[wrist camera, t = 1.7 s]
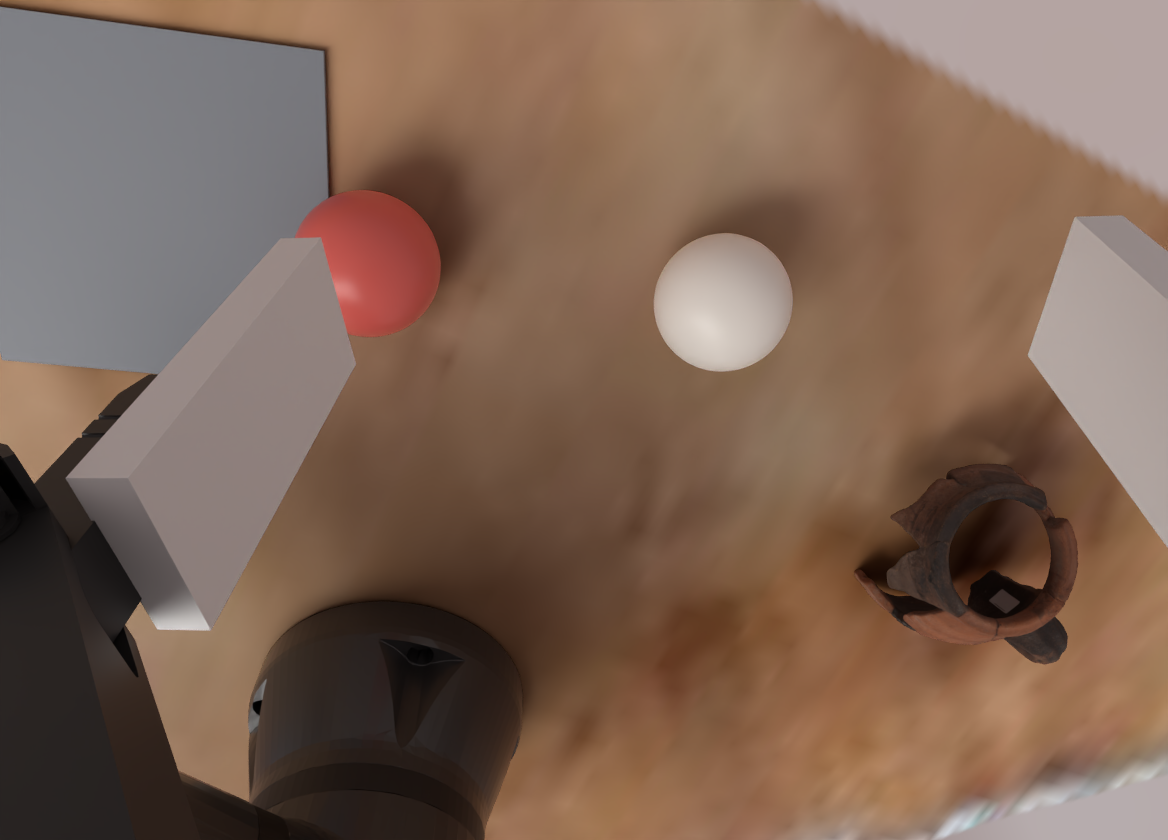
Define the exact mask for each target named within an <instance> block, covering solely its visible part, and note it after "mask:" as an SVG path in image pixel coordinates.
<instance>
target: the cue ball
mask: <svg viewBox="0 0 1168 840" xmlns="http://www.w3.org/2000/svg"><path fill="white" fill-rule="evenodd" d="M792 306H793V294H792V288H791V283H790V280H789V277H788V274H787V272H786V270H785V268H784V267H783V265H782V263H781V262H780V260H779V259H778V258H777V256H776V255H775V254H774V253H773V252H772V251H771V250H769V249H768V248H767V247H766V246H764V245H763V244H761V243H760V242H758V241H756V240H754V239H752V238H749V237H746V236H743V235H739V234H733V233H719V234H712V235H707V236H704V237H701V238H698V239H696V240H694V241H692V242H690V243H688V244H687V245H685V246H684V247H682V248H681V249H680V250H679V251H678V252H676V253H675V254H674V256H673V257H672V258H671V259H670V260H669V261H668V263H667V264H666V265H665V267H664V269H663V270H662V272H661V274H660V276H659V279H658V281H657V285H656V289H655V295H654V313H655V319H656V323H657V326H658V329H659V331H660V333H661V336H662V337H663V339H664V341H665V342H666V344H667V345H668V346H669V348H670V349H671V350H672V351H673V352H674V353H675V354H676V355H677V356H679V357H680V358H681V359H682V360H684V361H686V362H687V363H689V364H691V365H693V366H696V367H698V368H701V369H705V370H710V371H723V372H724V371H734V370H739V369H742V368H745V367H748V366H750V365H752V364H754V363H756V362H758V361H759V360H761V359H762V358H764V357H765V356H766V355H768V354H769V353H770V352H771V351H772V350H773V349H774V348H775V347H776V345H777V344H778V343H779V341H780V340H781V338H782V337H783V335H784V333H785V331H786V329H787V327H788V325H789V322H790V318H791V314H792Z"/></svg>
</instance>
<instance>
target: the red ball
mask: <svg viewBox="0 0 1168 840" xmlns="http://www.w3.org/2000/svg"><path fill="white" fill-rule="evenodd" d="M315 237H321V240H322V243H323V247H324V251H325V254H326V258H327V261H328V265H329V269H330V272H331V276H332V279H333V283H334V287H335V290H336V294H337V297H338V301H339V305H340V308H341V312H342V315H343V319H344V323H345V326H346V330H347V334H351V335H355V336H361V337H380V336H385V335H389V334H392V333H395V332H398V331H400V330H402V329H404V328H406V327H408V326H410V325H411V324H412V323H414V322H415V321H416V320H417V319H418V318H419V317H421V316H422V315H423V314H424V312H425V311H426V310H427V309H428V307H429V306H430V304H431V302H432V301H433V299H434V297H435V294H436V292H437V289H438V285H439V281H440V273H441V260H440V254H439V250H438V246H437V243H436V240H435V238H434V236H433V233H432V231H431V230H430V228H429V226H428V225H427V223H426V222H425V221H424V220H423V218H422V217H421V216H420V215H419V214H418V213H417V212H416V211H415V210H414V209H412V208H411V207H410V206H409V205H407V204H406V203H404V202H403V201H401V200H399V199H397V198H395V197H393V196H391V195H388V194H385V193H381V192H377V191H371V190H354V191H348V192H343V193H340V194H337V195H334V196H331V197H330V198H328V199H326V200H324V201H323V202H321V203H320V204H319V205H317V206H316V207H315V208H313V209H312V210H311V211H310V213H309V214H308V215H307V216H306V217H305V219H304V220H303V222H302V223H301V225H300V227H299V229H298V231H297V233H296V235H295V238H315Z"/></svg>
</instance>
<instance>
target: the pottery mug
mask: <svg viewBox="0 0 1168 840" xmlns="http://www.w3.org/2000/svg"><path fill="white" fill-rule="evenodd" d="M998 499H1014V500H1017V501H1020V502H1023V503H1025V504H1026V505H1028V506H1030V507H1032V508H1034V509H1035V510H1036V512H1037V513H1038V514H1039V515H1040V517H1041V519H1042V521H1043V524H1044V526H1045V528H1046V530H1047V533H1048V536H1049V542H1050V548H1051V562H1050V569H1049V574H1048V577H1047V580H1046V583H1045V585H1044V588H1043V589H1035V588H1033V587H1031V586H1027V585H1021V584H1019V583H1017V582H1015V581H1013V580H1012V579H1010V578H1009V577H1006V576H1002V575H1001V574H1000V573H999V572H997V571H996V570H991V571H989V572H988V573H987V574H986V575H985V576H983V577H982V578H981V579H980V580H978V581H976V582H974V583H973V584H972V585H971V587H970V590H971V592H970V596H969V598H968V606H967V605H965V604H964V603H963V601H962V600H961V598H960V597H959V596H958V594H957V592H956V590H955V588H954V586H953V583H952V579H951V575H950V570H949V553H950V545H951V542H952V540H953V537H954V535H955V533H956V532H957V530H958V528H959V526H960V524H961V523H962V522H963V520H964V519H965V518H966V517H967V516H968V514H969V513H970V512H971V511H973V510H974V509H976V508H977V507H979V506H980V505H982V504H985V503H987V502H991V501H994V500H998ZM890 518H891V519H892V520H894V521H896V522H897V523H898V524H899V525H900V526H902V527H903V529H904V530H905V531H906V532H907V533H909V534H910V535H911V536H912V538H913V539H914V540H915V541H916V542H917V543H918V545H919V549H917V550H913V551H909V552H907V553H905V554H904V555H903V556H902V557H901V558H900V560H899V561H898V562H897V564H896V565H895V566H893V567H892V568H890V569H889V570H888V571H887V583H888V586H889V587H890V588H892V589H896V590H900V591H905V592H906V593H907V594H909V595H910V596H894V595H890V594H888V593H885V592H883V591H882V590H880V589H879V588H878V587H877V585H876V584H875V582H874V581H873V580H871V579H869V578H868V577H867V576H866V574H865V573H864V572H863V571H862V570H860V569H858V570H856V571H854V575H855V577H856V578H857V580H858V581H859V582H860V583H861V585H862V586H863V587H864V588H865V590H866V591H867V593H868V594H869V595H870V596H871V597H872V598H873V599H874V600H875V601H876V602H877V603H878V604H879V605H880V606H881V607H882V608H884V609H885V610H887V611H888V612H889V613H891V614H892V615H893V616H894V617H895V618H896V619H897V621H899V622H900V623H902V624H903V625H904V626H906V627H908V628H910V629H912V630H914V631H917V632H918V633H919V634H921V635H924V636H926V637H929V638H933V639H937V640H940V641H945V642H951V643H956V644H968V645H969V644H973V645H976V644H981V643H985V642H989V641H995V640H999V639H1005V640H1006V641H1007V642H1008V643H1009V644H1010V645H1012V646H1013V647H1014V648H1015V649H1016V650H1017V651H1019V652H1020V653H1021V654H1022V655H1024V656H1025V657H1026V658H1027V659H1029V660H1031V661H1032V662H1035V663H1041V664H1049V663H1053V662H1056V661H1057V660H1058V659H1059V658H1060V656H1061V654H1062V653H1063V652H1064V651H1065V649H1066V648H1067V638H1068V637H1067V633H1066V631H1065V629H1064V627H1063V625H1062V624H1061V623H1060V621H1059V620H1058V619H1057V618H1056V617H1055V615H1056V614H1057V613H1058V612H1059V611H1060V610H1061V609H1062V607H1063V606H1064V605H1065V602H1066V600H1067V599H1068V597H1069V595H1070V592H1071V591H1072V587H1073V585H1074V581H1075V578H1076V574H1077V567H1078V561H1077V560H1078V557H1077V555H1078V550H1077V542H1076V538H1075V535H1074V532H1073V529H1072V527H1071V525H1070V523H1069V521H1068V520H1067V519H1064V518H1055V517H1054V515H1053V513H1052V511H1051V509H1050V508H1049V507H1048V506H1047V502H1046V497H1045V494H1044V492H1043V491H1042V490H1040V489H1038V488H1036V487H1034V486H1033V485H1032V484H1031V483H1030V482H1029V481H1028V480H1027V479H1026V478H1025V477H1023V476H1022V475H1021V474H1019V473H1017V472H1015V471H1014V470H1013V469H1012V468H1010V467H1008V466H1006V465H998V464H976V465H969V466H965V467H961V468H956V469H953V470H951V471H949V472H948V473H947V476H946V479H938V480H936V481H935V482H934V483H933V484H932V485H931V486H930V487H929V488H928V489H927V491H926V492H925V493H924V494H923V495H922V496H921V497H920V499H919V500H918V501H917V502H915V503H914V504H913V505H911V506H909V507H908V508H906V509H902V510H900V511H898V512H896V513H895V514H893V515H891V516H890Z"/></svg>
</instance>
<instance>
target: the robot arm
mask: <svg viewBox="0 0 1168 840" xmlns="http://www.w3.org/2000/svg"><path fill="white" fill-rule="evenodd" d="M1028 357H1029V358H1030V359H1031V361H1032V362H1033V363H1034V365H1035V366H1036V368H1037V369H1038V370H1039V372H1040V373H1041V374H1042V376H1043V377H1044V379H1045V380H1046V381H1047V383H1048V384H1049V385H1050V387H1051V388H1052V390H1053V391H1054V392H1055V394H1056V395H1057V396H1058V398H1059V399H1060V401H1061V402H1062V403H1063V405H1064V406H1065V407H1066V409H1067V410H1068V412H1069V413H1070V414H1071V416H1072V417H1073V418H1074V420H1075V421H1076V423H1077V424H1078V425H1079V427H1080V428H1081V429H1082V431H1083V432H1084V434H1085V435H1086V436H1087V438H1088V439H1089V440H1090V442H1091V443H1092V445H1093V446H1094V447H1095V449H1096V450H1097V451H1098V453H1099V454H1100V456H1101V457H1102V458H1103V460H1104V461H1105V462H1106V464H1107V465H1108V467H1109V468H1110V469H1111V471H1112V472H1113V473H1114V475H1115V476H1116V478H1117V479H1118V480H1119V482H1120V483H1121V484H1122V486H1123V487H1124V489H1125V490H1126V491H1127V493H1128V494H1129V495H1130V497H1131V498H1132V499H1133V501H1134V502H1135V504H1136V505H1137V506H1138V508H1139V509H1140V510H1141V512H1142V513H1143V515H1144V516H1145V517H1146V519H1147V520H1148V521H1149V523H1150V524H1151V526H1152V527H1153V528H1154V530H1155V531H1156V532H1157V534H1158V535H1159V537H1160V538H1161V539H1162V541H1163V542H1164V543H1165V545H1166V546H1167V548H1168V252H1167V251H1166V250H1165V249H1164V248H1162V247H1161V246H1160V245H1159V244H1157V243H1156V242H1155V241H1154V240H1152V239H1151V238H1150V237H1149V236H1148V235H1146V234H1145V233H1144V232H1143V231H1141V230H1140V229H1139V228H1138V227H1136V226H1135V225H1134V224H1133V223H1131V222H1130V221H1129V220H1128V219H1126V218H1125V217H1124V216H1086V217H1074V220H1073V223H1072V226H1071V229H1070V232H1069V235H1068V238H1067V241H1066V244H1065V247H1064V250H1063V253H1062V256H1061V259H1060V262H1059V265H1058V268H1057V271H1056V273H1055V276H1054V279H1053V282H1052V285H1051V288H1050V291H1049V294H1048V297H1047V300H1046V303H1045V306H1044V309H1043V312H1042V315H1041V318H1040V321H1039V324H1038V326H1037V329H1036V332H1035V335H1034V338H1033V341H1032V344H1031V347H1030V350H1029V353H1028ZM355 365H356V362H355V359H354V355H353V352H352V348H351V344H350V341H349V337H348V334H347V330H346V326H345V323H344V319H343V315H342V312H341V308H340V305H339V301H338V297H337V294H336V290H335V287H334V283H333V279H332V276H331V272H330V269H329V265H328V261H327V258H326V254H325V251H324V247H323V243H322V240H321V237H315V238H280V240H279V241H278V242H277V243H276V244H275V245H274V246H273V247H272V248H271V250H270V251H269V252H268V253H267V254H266V255H265V256H264V257H263V258H262V260H261V261H260V262H259V263H258V264H257V265H256V266H255V267H254V269H253V270H252V271H251V272H250V273H249V274H248V275H247V276H246V277H245V279H244V280H243V281H242V282H241V283H240V284H239V285H238V286H237V287H236V289H235V290H234V291H233V292H232V293H231V294H230V295H229V296H228V297H227V299H226V300H225V301H224V302H223V303H222V304H221V305H220V306H219V308H218V309H217V310H216V311H215V312H214V313H213V314H212V315H211V316H210V318H209V319H208V320H207V321H206V322H205V323H204V324H203V325H202V326H201V328H200V329H199V330H198V331H197V332H196V333H195V334H194V335H193V336H192V338H191V339H190V340H189V341H188V342H187V343H186V344H185V345H184V347H183V348H182V349H181V350H180V351H179V352H178V353H177V354H176V355H175V357H174V358H173V359H172V360H171V361H170V362H169V363H168V364H167V365H166V367H165V368H164V369H163V370H162V371H161V372H160V373H159V374H155V375H148V376H146V377H144V378H143V379H141V380H140V381H138V382H137V383H135V384H133V385H132V386H130V387H129V388H127V389H125V390H124V391H122V392H121V393H119V394H118V395H117V396H116V397H115V398H114V399H113V400H112V401H111V403H110V404H109V405H108V406H107V407H106V408H105V409H104V410H103V411H102V412H101V413H100V414H99V415H98V416H99V419H98V420H94V421H93V422H92V423H91V424H90V425H89V426H88V427H87V428H86V429H85V430H84V431H83V432H82V438H77V439H76V440H75V441H74V442H73V443H72V444H71V445H70V446H69V447H68V448H67V449H66V451H65V452H64V453H63V454H62V455H61V456H60V457H59V458H58V459H57V460H56V461H55V462H54V463H53V464H52V465H51V467H50V468H49V469H48V470H47V471H46V472H45V473H44V474H43V475H42V476H41V477H40V478H39V479H38V480H37V481H36V483H35V484H34V483H33V481H32V480H31V478H30V477H29V475H28V474H27V472H26V471H25V469H24V467H23V466H22V464H21V463H20V461H19V460H18V458H17V457H16V455H15V454H14V452H13V451H12V450H11V449H10V448H9V446H8V445H5V444H1V443H0V840H484V838H485V828H486V824H487V821H488V819H489V816H490V814H491V811H492V809H493V806H494V804H495V801H496V799H497V796H498V794H499V791H500V789H501V786H502V783H503V781H504V778H505V775H506V772H507V769H508V767H509V764H510V761H511V759H512V757H513V756H514V754H515V752H516V749H517V747H518V743H519V740H520V734H521V729H522V704H523V692H522V684H521V680H520V676H519V674H518V671H517V669H516V667H515V665H514V663H513V661H512V660H511V658H510V657H509V655H508V654H507V653H506V651H505V650H504V649H503V648H502V647H501V646H500V645H499V644H498V643H497V642H496V641H495V640H494V639H493V638H492V637H491V636H489V635H488V634H487V633H485V632H484V631H483V630H481V629H480V628H478V627H476V626H475V625H473V624H471V623H470V622H468V621H466V620H464V619H462V618H459V617H457V616H455V615H452V614H450V613H447V612H444V611H441V610H438V609H434V608H431V607H427V606H422V605H417V604H410V603H402V602H364V603H356V604H350V605H345V606H340V607H336V608H333V609H330V610H326V611H323V612H321V613H318V614H316V615H314V616H311V617H309V618H307V619H305V620H304V621H302V622H300V623H298V624H297V625H296V626H294V627H293V628H291V629H290V630H289V631H287V632H286V633H285V634H284V635H283V636H282V637H281V638H280V639H279V640H278V641H277V642H276V643H275V644H274V646H273V647H272V648H271V650H270V651H269V653H268V655H267V657H266V659H265V661H264V663H263V666H262V668H261V671H260V673H259V676H258V679H257V681H256V684H255V686H254V689H253V692H252V695H251V699H250V705H249V713H248V724H249V733H250V737H249V802H248V801H245V800H243V799H241V798H239V797H236V796H234V795H232V794H230V793H227V792H225V791H223V790H221V789H218V788H216V787H214V786H212V785H209V784H207V783H205V782H203V781H200V780H198V779H196V778H194V777H191V776H189V775H187V774H185V773H182V772H180V771H178V769H177V766H176V763H175V760H174V757H173V754H172V751H171V748H170V745H169V742H168V739H167V736H166V733H165V730H164V727H163V724H162V720H161V717H160V714H159V711H158V708H157V705H156V702H155V699H154V696H153V693H152V690H151V687H150V684H149V681H148V678H147V675H146V672H145V669H144V666H143V663H142V660H141V657H140V654H139V651H138V648H137V645H136V642H135V640H134V638H133V636H132V635H131V633H130V632H129V630H128V629H127V627H126V626H125V624H126V622H127V621H128V619H129V618H130V616H131V614H132V613H133V611H134V610H135V608H136V607H137V605H138V604H139V602H141V603H142V605H143V606H144V608H145V610H146V611H147V613H148V615H149V616H150V618H151V620H152V621H153V623H154V624H155V626H156V628H157V629H158V630H212V628H213V626H214V624H215V622H216V620H217V619H218V617H219V615H220V613H221V611H222V609H223V608H224V606H225V604H226V602H227V600H228V598H229V597H230V595H231V593H232V591H233V589H234V587H235V586H236V584H237V582H238V580H239V578H240V576H241V574H242V573H243V571H244V569H245V567H246V565H247V563H248V562H249V560H250V558H251V556H252V554H253V552H254V551H255V549H256V547H257V545H258V543H259V541H260V540H261V538H262V536H263V534H264V532H265V530H266V529H267V527H268V525H269V523H270V521H271V519H272V518H273V516H274V514H275V512H276V510H277V508H278V507H279V505H280V503H281V501H282V499H283V497H284V495H285V494H286V492H287V490H288V488H289V486H290V484H291V483H292V481H293V479H294V477H295V475H296V473H297V472H298V470H299V468H300V466H301V464H302V462H303V461H304V459H305V457H306V455H307V453H308V451H309V450H310V448H311V446H312V444H313V442H314V440H315V439H316V437H317V435H318V433H319V431H320V429H321V427H322V426H323V424H324V422H325V420H326V418H327V416H328V415H329V413H330V411H331V409H332V407H333V405H334V404H335V402H336V400H337V398H338V396H339V394H340V393H341V391H342V389H343V387H344V385H345V383H346V382H347V380H348V378H349V376H350V374H351V372H352V371H353V369H354V367H355Z"/></svg>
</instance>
